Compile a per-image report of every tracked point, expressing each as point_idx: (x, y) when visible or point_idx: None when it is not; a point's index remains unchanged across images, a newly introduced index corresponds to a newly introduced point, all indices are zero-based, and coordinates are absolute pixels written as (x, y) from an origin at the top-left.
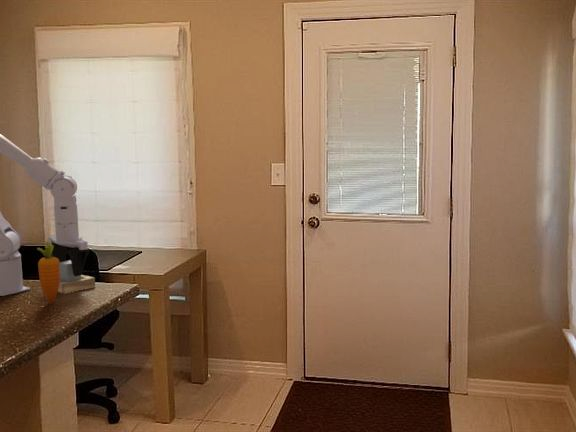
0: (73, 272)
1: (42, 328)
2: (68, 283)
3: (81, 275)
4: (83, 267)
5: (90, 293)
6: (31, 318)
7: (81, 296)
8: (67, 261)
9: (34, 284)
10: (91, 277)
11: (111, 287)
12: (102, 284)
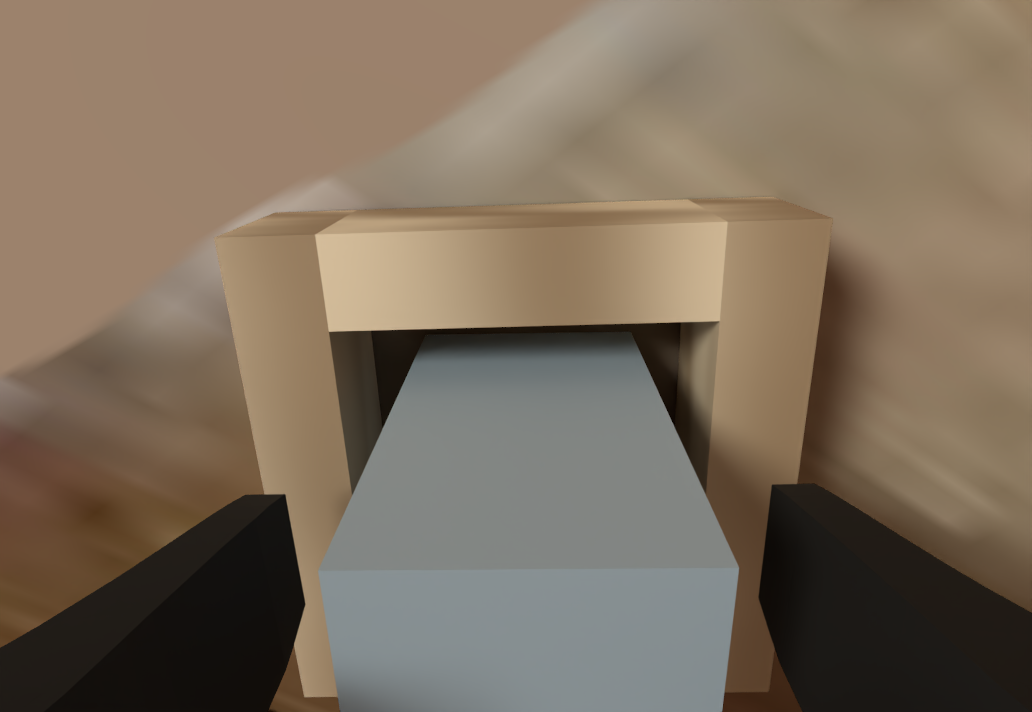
0: (789, 661)
1: None
2: (760, 643)
3: (478, 266)
4: (922, 557)
5: (972, 427)
6: None
7: (970, 553)
8: (418, 706)
9: (29, 573)
10: (765, 245)
11: (1026, 52)
12: (746, 23)
